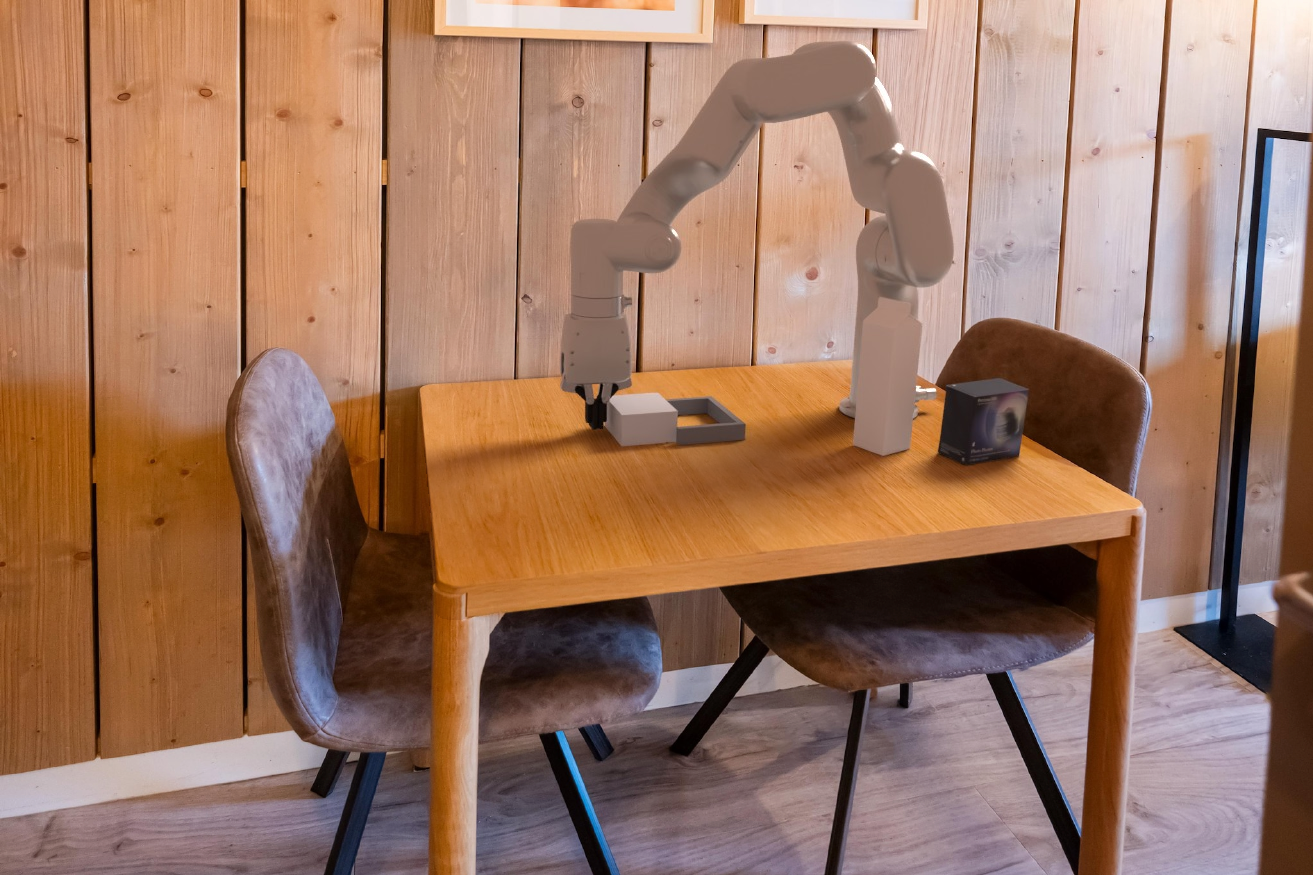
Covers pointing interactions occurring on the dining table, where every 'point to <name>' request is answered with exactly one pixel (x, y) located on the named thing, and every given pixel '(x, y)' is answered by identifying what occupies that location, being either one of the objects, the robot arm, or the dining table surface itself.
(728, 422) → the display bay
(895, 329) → the milk
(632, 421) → the carton
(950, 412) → the small box
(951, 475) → the dining table surface
